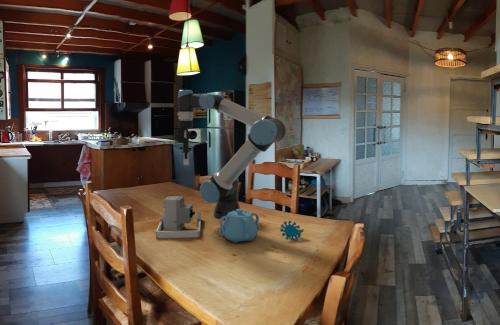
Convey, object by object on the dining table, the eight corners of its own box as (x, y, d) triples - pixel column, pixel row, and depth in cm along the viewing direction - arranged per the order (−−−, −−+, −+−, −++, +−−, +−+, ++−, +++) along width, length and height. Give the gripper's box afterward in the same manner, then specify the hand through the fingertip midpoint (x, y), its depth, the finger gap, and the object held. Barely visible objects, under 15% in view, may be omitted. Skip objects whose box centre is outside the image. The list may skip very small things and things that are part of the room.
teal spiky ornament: (282, 238, 177) (280, 218, 183) (278, 244, 181) (276, 225, 187) (305, 240, 179) (302, 220, 185) (301, 246, 184) (298, 227, 190)
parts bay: (200, 226, 199) (200, 220, 199) (199, 237, 183) (199, 230, 182) (160, 227, 197) (160, 221, 197) (155, 238, 181) (155, 231, 180)
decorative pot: (214, 241, 178) (214, 211, 176) (233, 231, 192) (233, 203, 190) (246, 247, 170) (246, 216, 169) (263, 236, 184) (263, 207, 183)
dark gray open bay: (201, 219, 212) (201, 212, 212) (200, 226, 199) (200, 218, 199) (163, 220, 210) (163, 212, 210) (160, 227, 197) (160, 219, 197)
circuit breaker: (192, 231, 191) (192, 200, 189) (163, 230, 193) (162, 199, 191) (196, 226, 199) (196, 197, 197) (168, 225, 200) (167, 196, 198)
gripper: (179, 119, 216) (179, 163, 219) (177, 120, 203) (178, 166, 206) (193, 119, 216) (193, 163, 219) (192, 120, 204) (192, 166, 207)
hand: (186, 164), depth 213 cm, fingers closed
